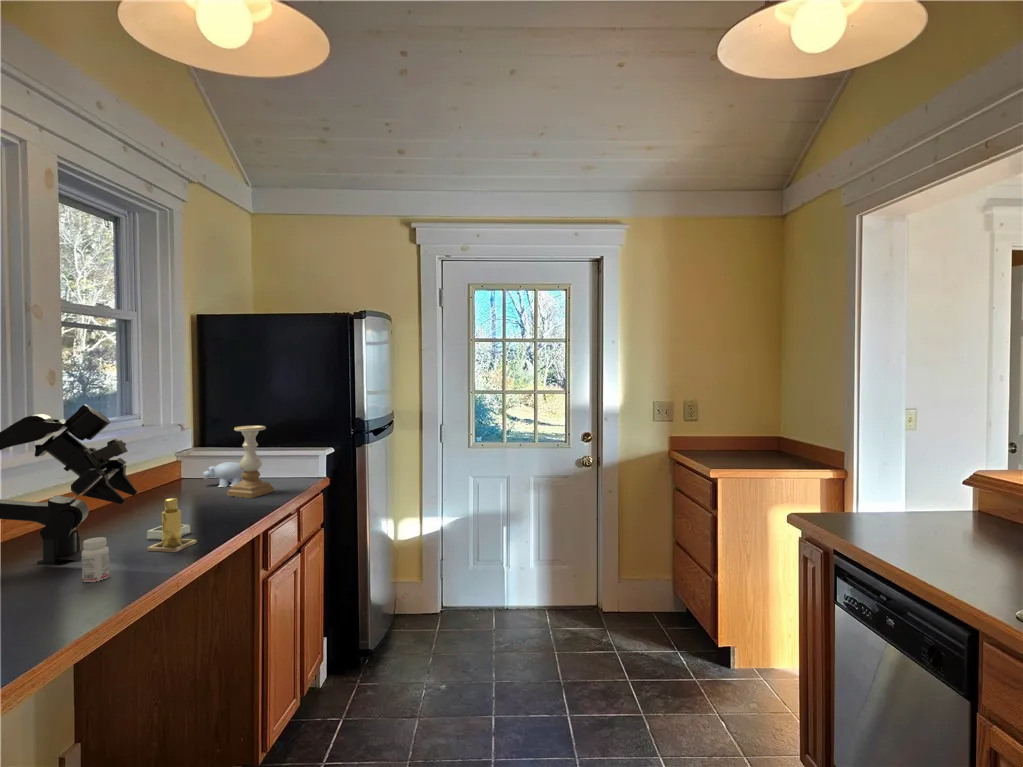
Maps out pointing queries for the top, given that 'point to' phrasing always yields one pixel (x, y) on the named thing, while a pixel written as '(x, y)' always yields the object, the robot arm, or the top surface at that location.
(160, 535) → the socket
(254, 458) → the candle holder
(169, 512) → the gold bottle
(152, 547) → the tan flat square frame
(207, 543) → the top surface
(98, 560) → the pill bottle
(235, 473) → the hippopotamus toy
